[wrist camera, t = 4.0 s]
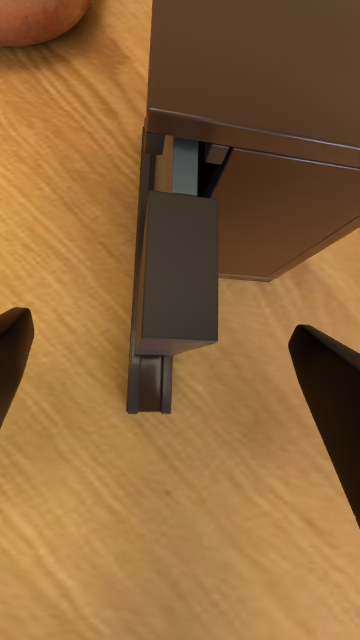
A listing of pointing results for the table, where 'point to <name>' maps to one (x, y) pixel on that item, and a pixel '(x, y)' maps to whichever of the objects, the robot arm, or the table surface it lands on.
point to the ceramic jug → (38, 20)
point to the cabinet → (254, 137)
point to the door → (178, 258)
